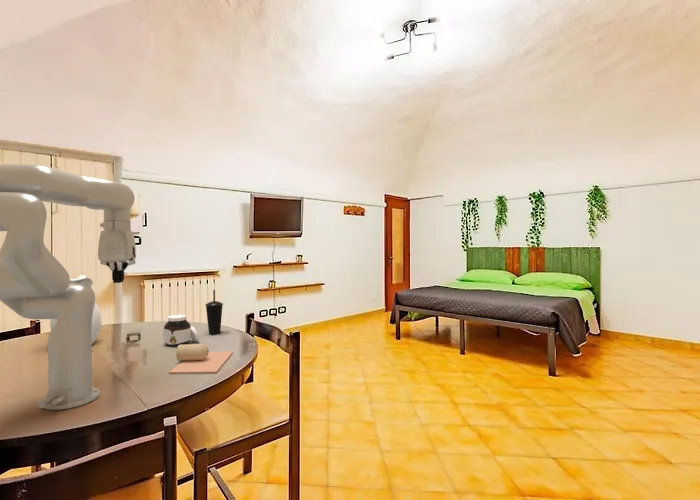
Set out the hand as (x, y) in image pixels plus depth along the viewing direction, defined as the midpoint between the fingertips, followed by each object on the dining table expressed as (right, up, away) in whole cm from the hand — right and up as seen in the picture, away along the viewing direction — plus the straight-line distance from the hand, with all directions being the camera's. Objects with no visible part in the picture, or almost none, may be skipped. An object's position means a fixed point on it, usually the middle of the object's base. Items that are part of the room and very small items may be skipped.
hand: (118, 282), depth 126 cm
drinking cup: (+14, -28, +49) cm, 58 cm away
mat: (+25, -29, +8) cm, 39 cm away
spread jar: (+7, -28, +32) cm, 44 cm away
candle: (+16, -26, +9) cm, 31 cm away
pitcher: (-36, -28, +33) cm, 56 cm away
